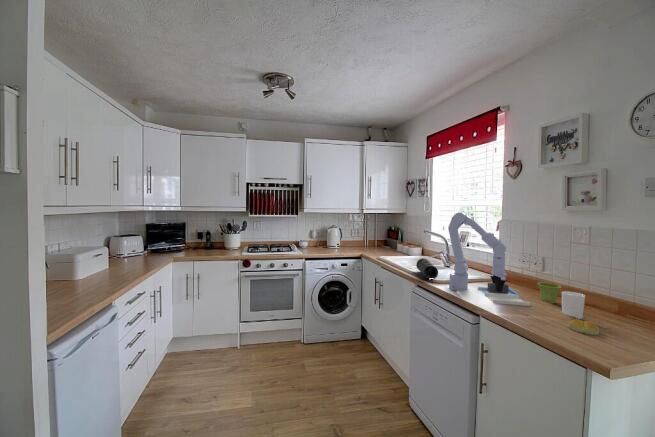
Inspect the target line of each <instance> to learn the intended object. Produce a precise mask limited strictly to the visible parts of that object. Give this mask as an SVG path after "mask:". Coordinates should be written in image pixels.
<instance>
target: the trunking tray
mask: <svg viewBox="0 0 655 437" xmlns="http://www.w3.org/2000/svg"><path fill="white" fill-rule="evenodd" d="M477 290H478V291H479V292H480V293H482V294H483V295H484V296H485V297H486V298H487V299H488V300H490V301H491V302H492V303H493V304H499V305H501V304H502V305H512V306H523V307H524V306H525V307H526V306H527V307H532V305H531V304H532V303H531V302H530V301H524V300H522V299H521V298H520V294H519V293H518V292H516V291H515V290H513V289H512V288H509V287H508V294H504V293H490V292H488V291H487V290H488V286H477Z"/></svg>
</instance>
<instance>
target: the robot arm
mask: <svg viewBox="0 0 655 437" xmlns="http://www.w3.org/2000/svg"><path fill="white" fill-rule="evenodd" d="M462 225H465V226H469V227H471V229H473V231H475V232H476V233H477V234H479V235H480V237H481V240H482V241H483V243H485V244H486V245H487V247H489V248H491V249H492V251H493V256H492V269H491V275H490V276H489V277H490V279H491V283H496V290H497V291H498V292H501V291H502V288H503V286H504V284H506V283H507V281H508V280H507V278H506V276H508V274H507V273H506V271H505V270H506V250H507V247H506V245H505V243H504V242H502V240H500V239H498V238H497V237H496V236H495V234H494V233H493V232H490V231H486V230H485V229H484V228H482V226H481V225H479V223H478V222H476V220H474V219H473V218H472V217H470V216H469V215H467V214H466V212H456V213H455V214H454V215H453V216H452V217H451V220H450V222H449V225H448V229H447V230H448V233H449V234H448V235H449V238H450V243H451V247H452V252H453V253H452V254H453V257H454V261H453V263H454V266H453V269H454V273H450V274H449V286H448V287H449V288H450V290H451V291H458V290H463V291H464V290H468V284H469V283H468V282H469V273H468V272H467V271H468V270H469V264H468V262H467V261H466V258H465V257H464V251H463V247H462V242H461V238H460V232H459V229H460V228H461V227H462Z"/></svg>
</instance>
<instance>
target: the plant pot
mask: <svg viewBox="0 0 655 437" xmlns="http://www.w3.org/2000/svg"><path fill="white" fill-rule="evenodd" d="M537 284H538V287H539V293H540V295H539V296H540V300H542V301H545V302H548V303H549V304H557V300H558V295H559V291H560V289H561V288H562V286H561V285H559V284H557V283H556V284H554V283H550V282H537Z"/></svg>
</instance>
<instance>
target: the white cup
mask: <svg viewBox="0 0 655 437" xmlns="http://www.w3.org/2000/svg"><path fill="white" fill-rule="evenodd" d="M585 299H586V295H585V294H583V293H580V292H574V291H561V313H562V314H563V315H565V316H568V317H569V316H570V317H573V318H575V319H578V320H582V319H583V316H584V315H583V314H584V313H583V312H584V309H585V308H584V307H585Z"/></svg>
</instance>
